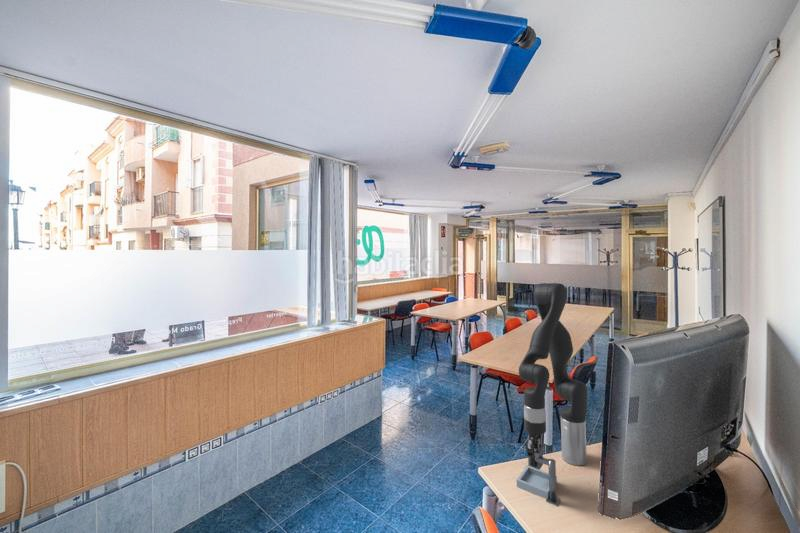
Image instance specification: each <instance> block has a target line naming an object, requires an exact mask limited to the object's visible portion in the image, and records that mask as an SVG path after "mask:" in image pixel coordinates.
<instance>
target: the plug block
mask: <svg viewBox="0 0 800 533" xmlns="http://www.w3.org/2000/svg"><path fill="white" fill-rule="evenodd" d="M535 448H536V447H535ZM543 448H544V445H543V446H540V445H539V450H538V451H540V457H543V458H544V450H543ZM527 457H528V460H527V463H528V466H531V465H530V457H529V456H527ZM543 466H544V464H543V463H540V462H537V467H533V466H531V467H533V468H536V469H539V470H541V468H542V467H543Z"/></svg>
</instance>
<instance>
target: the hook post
mask: <svg viewBox="0 0 800 533" xmlns="http://www.w3.org/2000/svg"><path fill="white" fill-rule="evenodd" d="M535 461H537V462H540V463H543V465H546V466H548V473H549V497H548V498H547V499H545V502H547V503H549V504H552V505H553V506H556V507H558V505H559V503H560V501H561V498H559V497H557V484H556V476H557V475H556V474H557V470H556V469H557V468H556V467H557V466H556V460H555V459H553V458H546V457H544V456H543V457H540V451H537V450H536V451H535Z"/></svg>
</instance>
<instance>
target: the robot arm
mask: <svg viewBox="0 0 800 533" xmlns="http://www.w3.org/2000/svg"><path fill="white" fill-rule="evenodd" d="M533 294H534V300H535V305H536V307H537V310H538V313H539V316H540V319H541V322H540V323H539V324H538V325H537V326H536V328H535V329H534V331H533V332H532V335H531V338H530V342H529V347H528V350H527V352H526V354H525V355H524V357H523V359H522V361H521V363H520V365H519V366H518V374H519V378H520V379H521V380H523V381H525V382H528V383H532V384H535V386H534V387H533V386H532V387H530V386H529V387H527V388H525V389H524V391H523V392H524V394H523V395H524V396H523V397H524V398H523V400H524V402H523V403H524V405H523V428H524V430H525V431H526V432H527V433H528V435H527V440H528V442H527V441H526V442H525V450H526V454H527V457H528V456H529V457H530V465H531V466H533V467H537V461H535V451H536V450H537V451H538V450H539V445H540V446H543V447H544V440H545V433H546V432H547V413H546V404H545V403H546V402H545V399H546V398H545V395H546V390H547V387H548V383H549V381H550V371H549V369H548V368H547V367H546V366H545V365H542V364H538V363H536V362H537V361H539V360H546V359H548V357H550V364H551V367H552V375H553V383H554V389H555V393H556V396H558V397H559V398H560V399H562V400H564V401H566V402H569V403H570V406H564V407H562V408H561V409H560V436H561V437H560V438H561V441H560V443H561V458H562V459H563V461H564V462H566V463H568V464H570V465H574V466H584V465H586V464H587V463H588V459H587V458H588V457H587V456H588V455H587V420H586V419H587V412H588V388H587V385H586V383H584V382H583V381H581V380H578V379H574V378H571V377H570V375H569V374H568V368H567V366H568V363H569V362H570V360H571V358H572V357H573V352H574V347H573V343H572V342H573V341H572V336H571V334H570V332H569V330H568V329H567V328H566V327H565V326H564V324H563V323H562V322H561V321H560V319H561V316H562V314H563V310H564V308H565V306H566V303H567V298H568V291H567V288H566V286H565V285H564V284H563V283H560V282H559V283H558V282H552V283H551V282H548V283H545V282H543V283H537V284H536V285H535V287H534V290H533ZM535 447H536V448H535Z"/></svg>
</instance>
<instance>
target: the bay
mask: <svg viewBox="0 0 800 533" xmlns="http://www.w3.org/2000/svg"><path fill="white" fill-rule="evenodd" d="M557 483H558V477H557V475H556V485H557ZM516 487H517V488H519V489H522V490H524V491H527V492H529V493H531V494H534V495H537V496H538V497H540V498H543V499H545V500H546V499H547V498H548V497H549V472H547V471H543V470H541V469H540V470H539V469H536V468H533V467H531V466H528V465H527V464H526V466H525V467H524V469H523V471H522V472H521V473H520V474H519V476H518V477H517V478H516Z"/></svg>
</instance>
